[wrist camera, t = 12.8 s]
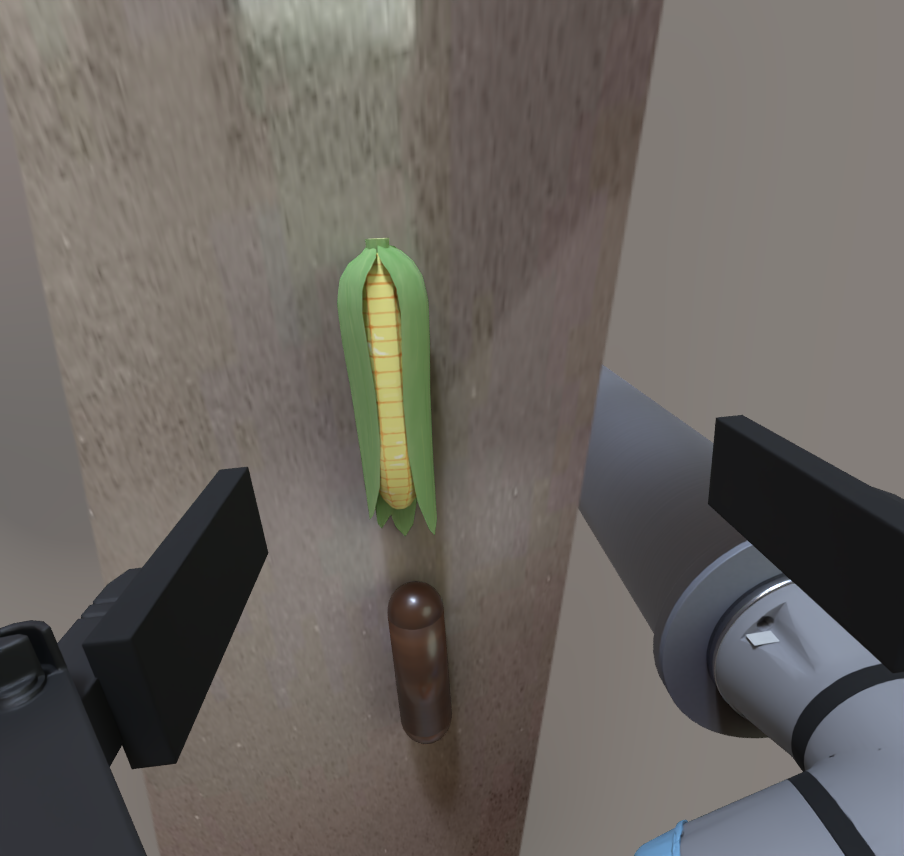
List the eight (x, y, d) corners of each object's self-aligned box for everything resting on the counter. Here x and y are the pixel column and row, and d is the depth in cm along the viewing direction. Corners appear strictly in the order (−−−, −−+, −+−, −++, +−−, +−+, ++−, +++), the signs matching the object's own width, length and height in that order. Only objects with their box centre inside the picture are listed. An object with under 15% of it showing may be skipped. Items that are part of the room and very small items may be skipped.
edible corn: (423, 235, 32) (426, 236, 28) (441, 529, 39) (445, 567, 35) (335, 239, 32) (324, 241, 27) (369, 535, 39) (364, 574, 34)
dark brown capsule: (385, 572, 40) (383, 608, 36) (439, 567, 40) (443, 602, 36) (403, 714, 45) (402, 759, 41) (451, 709, 45) (455, 753, 41)
